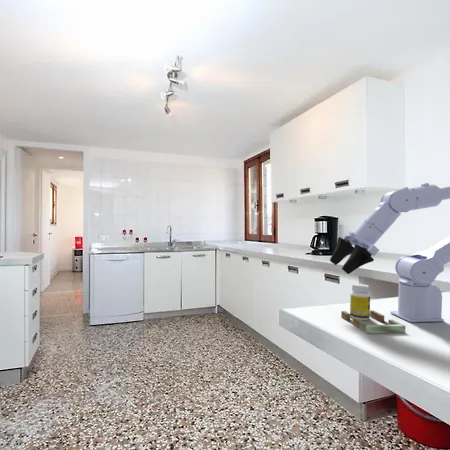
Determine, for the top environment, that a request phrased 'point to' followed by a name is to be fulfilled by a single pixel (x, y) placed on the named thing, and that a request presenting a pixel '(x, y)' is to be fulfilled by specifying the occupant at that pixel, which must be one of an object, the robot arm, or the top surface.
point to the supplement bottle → (360, 302)
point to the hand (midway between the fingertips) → (338, 267)
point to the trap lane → (371, 329)
